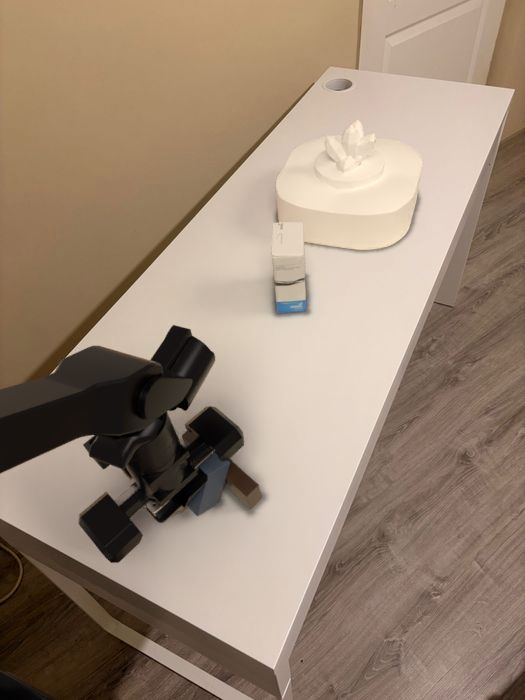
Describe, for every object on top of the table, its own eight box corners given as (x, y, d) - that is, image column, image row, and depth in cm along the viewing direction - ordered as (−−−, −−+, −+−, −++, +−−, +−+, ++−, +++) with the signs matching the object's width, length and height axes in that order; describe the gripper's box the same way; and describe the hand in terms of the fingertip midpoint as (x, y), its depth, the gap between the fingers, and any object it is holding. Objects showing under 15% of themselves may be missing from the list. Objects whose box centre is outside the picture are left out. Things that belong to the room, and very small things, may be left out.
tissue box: (303, 164, 107) (301, 87, 95) (422, 177, 100) (436, 95, 88) (266, 236, 93) (257, 156, 80) (401, 256, 86) (415, 172, 73)
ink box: (307, 312, 80) (305, 256, 70) (276, 314, 80) (270, 258, 71) (305, 276, 85) (303, 219, 76) (276, 278, 85) (271, 221, 76)
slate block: (204, 520, 60) (180, 506, 54) (178, 493, 63) (152, 478, 56) (242, 475, 62) (224, 456, 56) (216, 451, 64) (195, 431, 58)
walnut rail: (250, 510, 60) (246, 496, 57) (187, 450, 66) (180, 435, 63) (261, 498, 61) (258, 484, 58) (198, 440, 67) (192, 425, 64)
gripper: (171, 347, 56) (196, 420, 68) (23, 459, 48) (81, 519, 60) (239, 401, 50) (253, 470, 62) (84, 538, 43) (134, 586, 55)
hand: (181, 507), depth 60 cm, fingers closed
